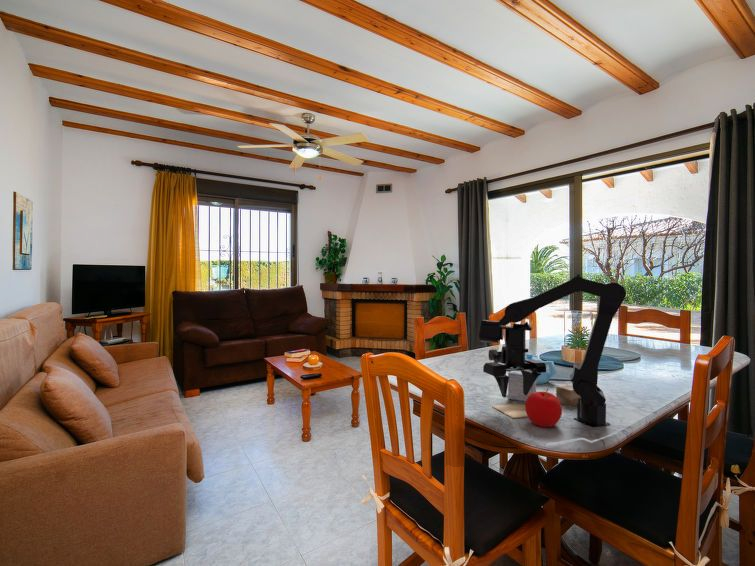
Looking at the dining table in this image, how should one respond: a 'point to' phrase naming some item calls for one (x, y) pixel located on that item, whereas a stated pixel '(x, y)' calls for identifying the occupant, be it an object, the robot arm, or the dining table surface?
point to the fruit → (543, 409)
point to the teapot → (544, 375)
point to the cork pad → (512, 410)
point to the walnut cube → (567, 395)
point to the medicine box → (518, 386)
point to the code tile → (518, 401)
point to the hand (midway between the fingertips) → (514, 396)
